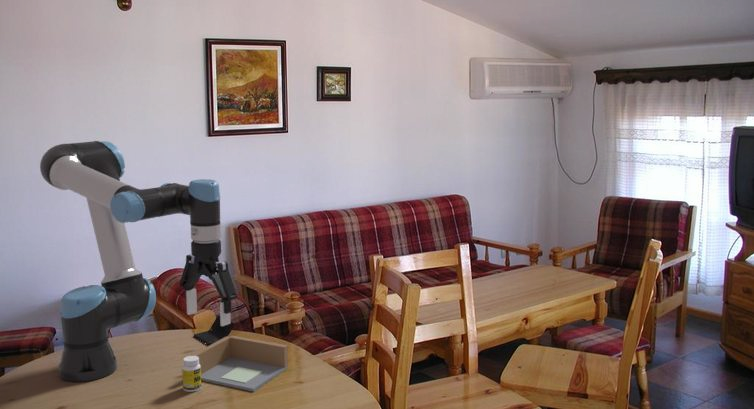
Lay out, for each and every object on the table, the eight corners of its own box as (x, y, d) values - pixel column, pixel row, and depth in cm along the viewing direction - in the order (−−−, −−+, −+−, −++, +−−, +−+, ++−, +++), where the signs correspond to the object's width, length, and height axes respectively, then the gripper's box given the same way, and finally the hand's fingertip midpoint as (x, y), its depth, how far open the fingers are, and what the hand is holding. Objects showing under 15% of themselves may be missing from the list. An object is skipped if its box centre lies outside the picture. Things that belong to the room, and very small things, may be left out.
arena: (192, 378, 191) (191, 355, 190) (229, 356, 207) (229, 334, 205) (253, 391, 183) (252, 367, 182) (287, 368, 198) (287, 345, 197)
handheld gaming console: (187, 333, 221) (205, 306, 224) (202, 341, 227) (219, 314, 229) (209, 347, 214) (227, 319, 217) (224, 355, 220) (241, 327, 222)
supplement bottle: (196, 393, 183) (195, 362, 181) (179, 391, 183) (178, 361, 182) (204, 385, 187) (203, 355, 186) (188, 383, 188) (186, 354, 187)
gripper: (164, 235, 184) (167, 312, 188) (226, 250, 169) (228, 333, 173) (187, 230, 190) (190, 305, 194) (250, 244, 175) (251, 325, 179)
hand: (208, 319), depth 183 cm, fingers open, 13 cm apart
